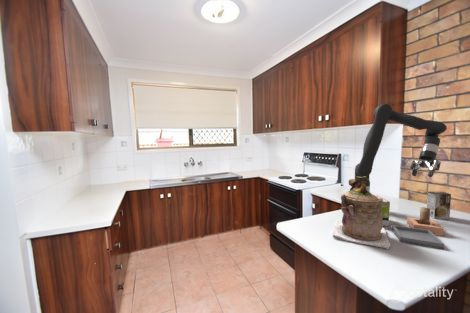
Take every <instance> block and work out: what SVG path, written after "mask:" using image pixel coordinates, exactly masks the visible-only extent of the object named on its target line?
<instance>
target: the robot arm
mask: <svg viewBox="0 0 470 313" xmlns="http://www.w3.org/2000/svg"><path fill="white" fill-rule="evenodd" d="M373 114H374V120H373V123H372V125H371V127H370V129H369V131H368V132H367V135H366V137H365V141H364V143H363V150H362V156H361V159H360V162H359V163H357V164H356V165H355V168H354V179H355V178H356V177H357V176H359V177H364V176H366V177H367V179H369V180H368V181H367V182H366V190H367V191H368V192H370V193H371V190H370V189H371V181H370V175H371V173H372V170H373V166H374V161H375V159H376V156H377V153H378V152H379V148H380V146H381V143H382V140H383V137H384V133H385V128H386V125H387V123H388V122H389V121H392V122H395V123H398V124H401V125H404V126H407V127H408V128H409V127H410V128H411V129H415V130H419V131H422V130H425V132H424V133H425V134H424V142H423V145H422V147H421V150H420V153H419V156H418V160H415V159H414V160H412V162H411V164H410V167H409V169H411V170H412V171H411V176H413V177H417V173H418V171H419V170H421V169H425V168H426V169H428V168H429V170H428V174H427V176H428V177H429V178H432V177H433V176H434V173H435V171H440V166H441V163H442V162H441V161H440V160H439V159H437V155H438V153H439V148H440V146H439V145H440V144H441V138H440V137H439V136H440V135H441V134H443V133H445V132H446V131H447V129H448V128H447V124H445V123H443V122H441V121H438V120H432V119H431V120H430V119H424V118H421V117H418V116H415V115H413V114H407V113H402V112H397V111H396V110H393V107H392V105H390V104H389V103H382V104H380V105H378V106H376V108H375V109H374V110H373ZM433 165H434V166H433Z"/></svg>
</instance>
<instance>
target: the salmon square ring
mask: <svg viewBox="0 0 470 313" xmlns="http://www.w3.org/2000/svg"><path fill="white" fill-rule="evenodd" d="M419 222H420V217H419V218H418V217H417V218H416V217H410V216H409V217H408V216H407V217H406V224H407V225H408V227H411V228H418V229H426V230H430V231H431V232H432V233H433V234H434V235H435V236H441V237H443V236H444V233H445V228H444V227H443V226H442V225H440V224H439V223H438V222H437V221H435V220H433V219H430V221H429V225H425V224H419Z"/></svg>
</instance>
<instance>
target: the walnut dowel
mask: <svg viewBox="0 0 470 313" xmlns="http://www.w3.org/2000/svg"><path fill="white" fill-rule="evenodd" d="M419 219H420V222H419V224H425V225H429V221H430V220H431V217H430V209H429V208H427V207H425V206H422V207H420V208H419Z"/></svg>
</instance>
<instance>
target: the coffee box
mask: <svg viewBox="0 0 470 313" xmlns="http://www.w3.org/2000/svg"><path fill="white" fill-rule="evenodd" d="M451 198H452V194H451V193H450V192H445V191H427V200H426V208H429V209H430V218H432V219H436V220H437V219H440V220H449V219H450V218H451V216H450V215H451V203H452V201H451V200H452V199H451Z"/></svg>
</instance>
